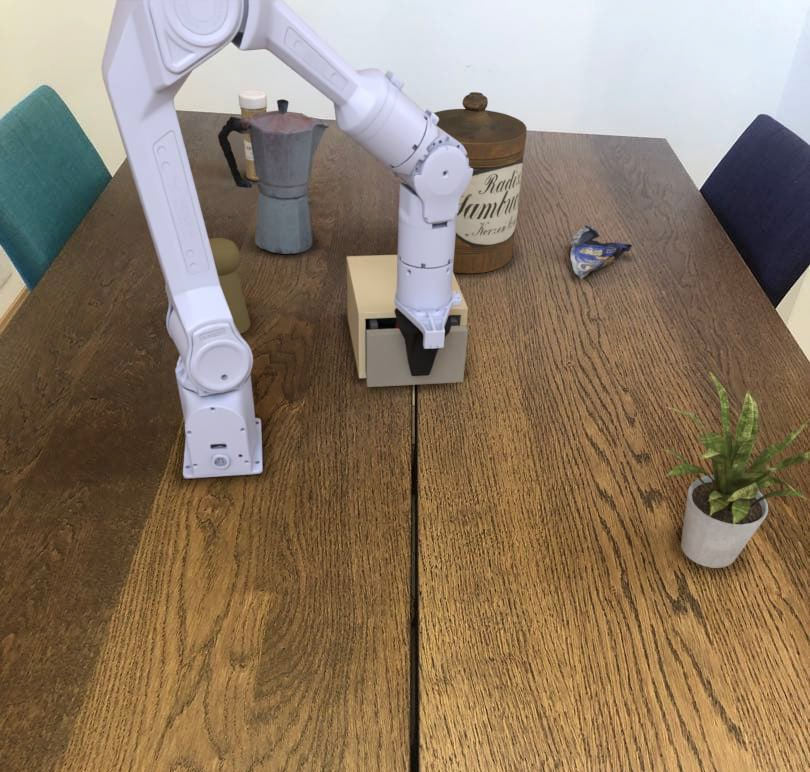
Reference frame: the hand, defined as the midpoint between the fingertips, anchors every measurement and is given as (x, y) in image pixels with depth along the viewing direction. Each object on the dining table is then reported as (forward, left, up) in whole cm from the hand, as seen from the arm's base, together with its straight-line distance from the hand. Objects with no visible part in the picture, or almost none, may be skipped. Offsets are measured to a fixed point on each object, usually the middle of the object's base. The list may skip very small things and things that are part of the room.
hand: (419, 372), depth 92 cm
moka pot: (+44, +14, -4) cm, 46 cm away
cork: (+20, +22, -4) cm, 30 cm away
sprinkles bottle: (+72, +17, -4) cm, 74 cm away
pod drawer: (+8, 0, -3) cm, 9 cm away
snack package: (+34, -32, -4) cm, 47 cm away
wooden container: (+39, -13, -4) cm, 41 cm away
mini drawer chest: (+13, 0, -4) cm, 13 cm away
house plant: (-26, -23, -4) cm, 35 cm away
